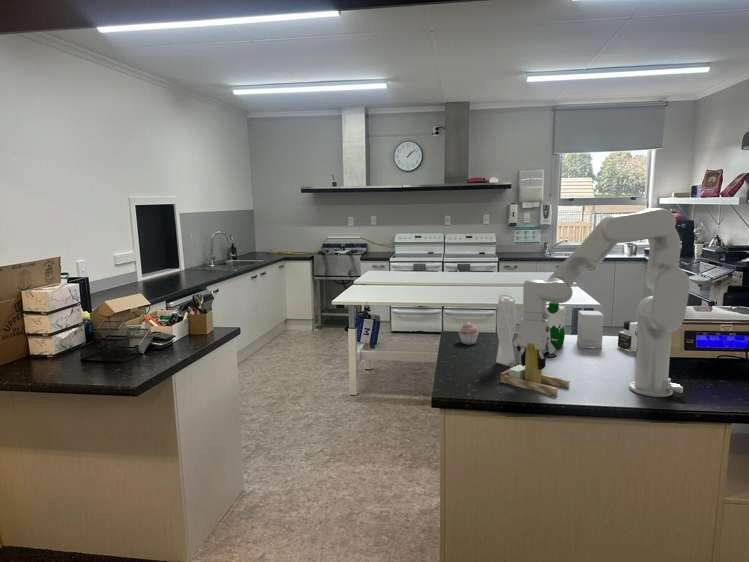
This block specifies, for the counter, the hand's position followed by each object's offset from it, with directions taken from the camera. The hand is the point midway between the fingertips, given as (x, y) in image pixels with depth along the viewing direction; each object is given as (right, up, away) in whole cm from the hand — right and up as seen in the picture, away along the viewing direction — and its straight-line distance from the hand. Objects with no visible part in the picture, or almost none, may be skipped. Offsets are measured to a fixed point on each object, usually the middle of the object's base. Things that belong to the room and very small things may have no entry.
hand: (532, 366), depth 168 cm
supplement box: (+40, +1, +47) cm, 61 cm away
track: (+1, -6, 0) cm, 6 cm away
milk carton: (+24, 0, +46) cm, 51 cm away
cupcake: (-12, +1, +55) cm, 56 cm away
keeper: (-4, -6, +4) cm, 8 cm away
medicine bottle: (+55, 0, +40) cm, 68 cm away
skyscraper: (-3, -3, +24) cm, 24 cm away
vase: (0, -6, +1) cm, 6 cm away
